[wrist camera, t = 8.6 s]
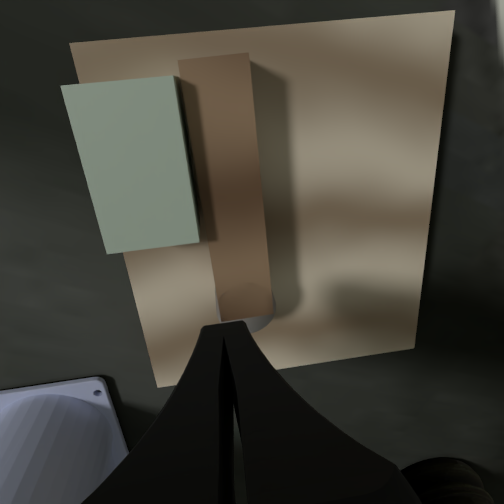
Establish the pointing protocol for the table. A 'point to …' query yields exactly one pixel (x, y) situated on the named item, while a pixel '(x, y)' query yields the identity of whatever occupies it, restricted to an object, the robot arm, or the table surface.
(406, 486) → the robot arm
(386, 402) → the table surface
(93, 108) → the block
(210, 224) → the stool leg
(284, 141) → the stool seat
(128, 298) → the table surface
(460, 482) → the container
